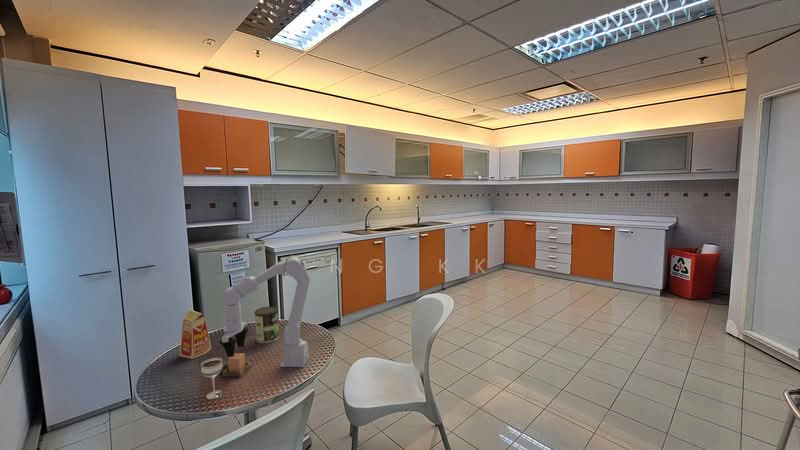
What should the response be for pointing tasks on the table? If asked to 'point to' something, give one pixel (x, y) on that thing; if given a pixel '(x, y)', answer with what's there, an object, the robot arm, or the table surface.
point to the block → (236, 362)
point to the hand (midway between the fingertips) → (235, 351)
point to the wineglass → (212, 373)
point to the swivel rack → (227, 373)
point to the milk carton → (194, 335)
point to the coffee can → (267, 324)
